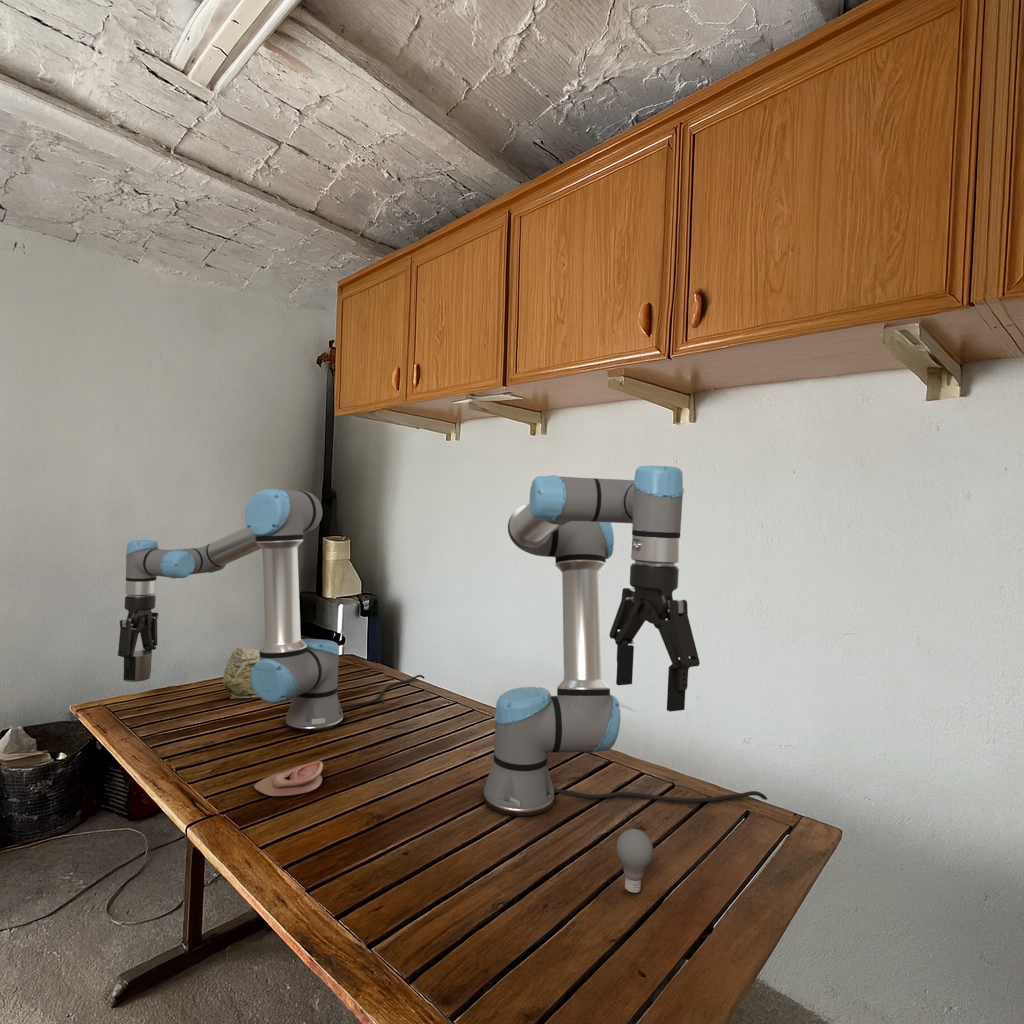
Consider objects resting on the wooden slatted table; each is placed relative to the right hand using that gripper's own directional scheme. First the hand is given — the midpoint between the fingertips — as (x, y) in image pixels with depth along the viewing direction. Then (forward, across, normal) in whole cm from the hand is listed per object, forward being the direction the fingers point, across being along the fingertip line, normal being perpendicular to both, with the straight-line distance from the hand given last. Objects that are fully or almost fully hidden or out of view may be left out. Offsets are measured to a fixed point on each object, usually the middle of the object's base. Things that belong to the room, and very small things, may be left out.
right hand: (648, 696), depth 101 cm
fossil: (+34, -129, -53) cm, 144 cm away
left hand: (+24, -122, -84) cm, 151 cm away
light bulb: (+34, -4, +2) cm, 34 cm away
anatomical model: (+34, -61, -48) cm, 85 cm away
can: (+25, -122, -85) cm, 151 cm away
